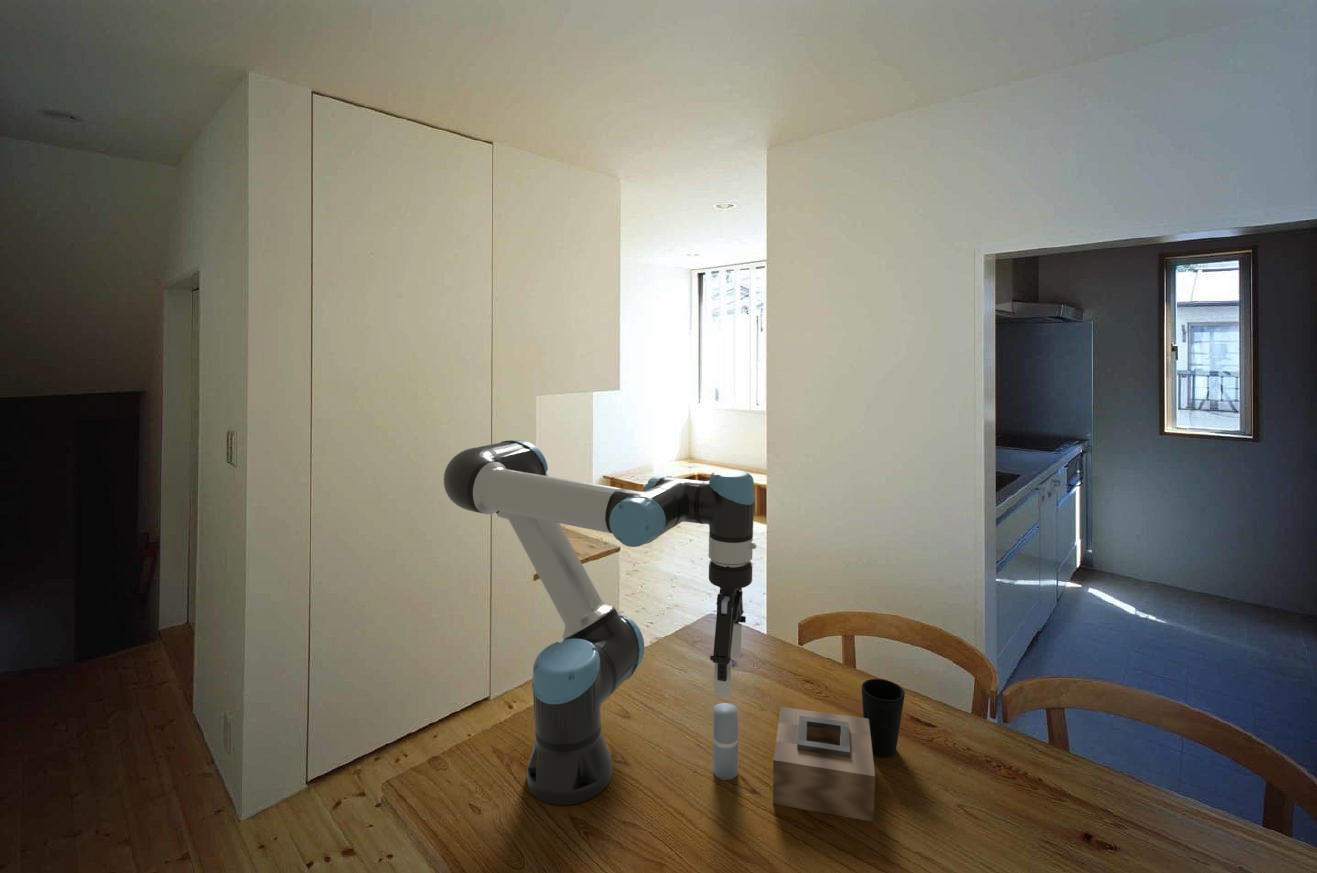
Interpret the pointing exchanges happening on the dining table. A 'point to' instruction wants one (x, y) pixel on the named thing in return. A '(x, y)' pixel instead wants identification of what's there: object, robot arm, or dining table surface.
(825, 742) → the grey square plate
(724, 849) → the dining table surface
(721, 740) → the peg
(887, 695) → the cup
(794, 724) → the socket block
